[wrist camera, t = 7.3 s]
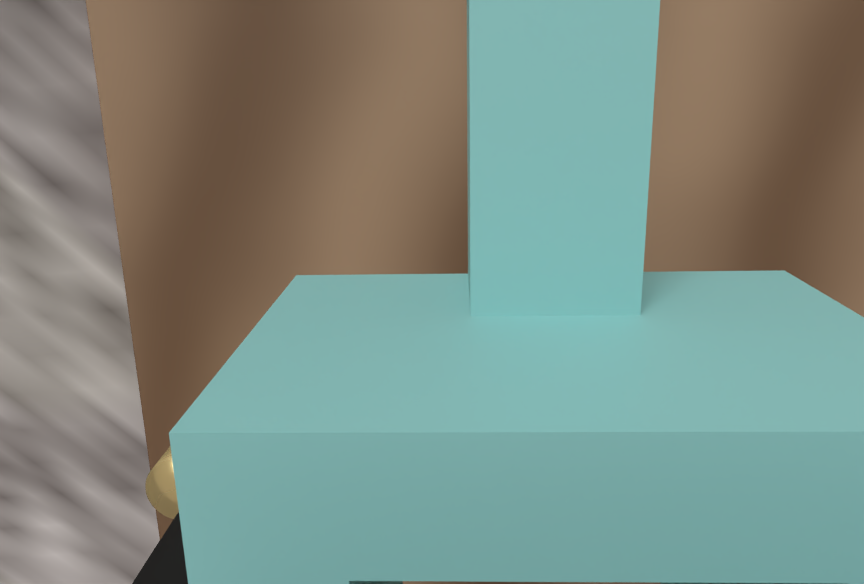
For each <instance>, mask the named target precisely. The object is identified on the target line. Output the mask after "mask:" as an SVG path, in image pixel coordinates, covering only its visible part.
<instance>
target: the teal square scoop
mask: <svg viewBox="0 0 864 584" xmlns="http://www.w3.org/2000/svg"><path fill="white" fill-rule="evenodd" d="M659 12H660V0H467V162H468V274H367V275H296V276H295V277H294V279H293V280H292V281H291V282H290V284H289V285H288V286H287V287H286V289H285V290H284V291H283V292H282V294H281V295H280V296H279V297H278V299H277V300H276V301H275V302H274V303H273V305H272V306H271V307H270V308H269V310H268V311H267V312H266V313H265V315H264V316H263V317H262V318H261V320H260V321H259V322H258V323H257V324H256V326H255V327H254V328H253V329H252V331H251V332H250V333H249V334H248V336H247V337H246V338H245V339H244V341H243V342H242V343H241V344H240V345H239V347H238V348H237V349H236V350H235V352H234V353H233V354H232V355H231V357H230V358H229V359H228V360H227V362H226V363H225V364H224V365H223V367H222V368H221V369H220V370H219V371H218V373H217V374H216V375H215V376H214V378H213V379H212V380H211V381H210V383H209V384H208V385H207V386H206V388H205V389H204V390H203V391H202V392H201V394H200V395H199V396H198V397H197V399H196V400H195V401H194V402H193V404H192V405H191V406H190V407H189V409H188V410H187V411H186V412H185V414H184V415H183V416H182V417H181V418H180V420H179V421H178V422H177V423H176V425H175V426H174V427H173V428H172V430H171V431H170V432H169V438H170V446H171V454H172V462H173V470H174V477H175V485H176V493H177V501H178V509H179V516H180V524H181V532H182V540H183V548H184V555H185V563H186V571H187V579H188V584H403V581H464V582H658V583H660V584H864V317H862V316H861V315H859V314H857V313H856V312H854V311H852V310H851V309H849V308H847V307H845V306H844V305H842V304H840V303H839V302H837V301H835V300H834V299H832V298H830V297H829V296H827V295H825V294H823V293H822V292H820V291H818V290H817V289H815V288H813V287H812V286H810V285H808V284H807V283H805V282H803V281H801V280H800V279H798V278H796V277H795V276H793V275H791V274H790V273H788V272H786V271H785V270H781V271H678V272H643V268H644V252H645V236H646V220H647V204H648V188H649V172H650V156H651V140H652V124H653V108H654V92H655V76H656V60H657V44H658V28H659Z"/></svg>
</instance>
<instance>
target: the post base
mask: <svg viewBox="0 0 864 584" xmlns="http://www.w3.org/2000/svg"><path fill="white" fill-rule="evenodd" d="M86 6H87V13H88V21H89V28H90V35H91V42H92V50H93V57H94V64H95V71H96V79H97V86H98V93H99V100H100V108H101V115H102V122H103V129H104V137H105V144H106V151H107V159H108V166H109V173H110V180H111V188H112V195H113V202H114V209H115V217H116V224H117V231H118V238H119V246H120V253H121V260H122V267H123V275H124V282H125V289H126V296H127V304H128V311H129V318H130V325H131V333H132V340H133V347H134V355H135V362H136V369H137V376H138V384H139V391H140V398H141V405H142V413H143V420H144V427H145V434H146V442H147V449H148V456H149V463H150V471H151V470H152V469H153V467H154V466H155V465H156V463H157V462H158V461H159V460H160V458H161V457H162V456H163V454H164V453H165V452H166V451H167V449H168V448H169V447H170V438H169V432H170V431H171V430H172V428H173V427H174V426H175V425H176V423H177V422H178V421H179V420H180V418H181V417H182V416H183V415H184V414H185V412H186V411H187V410H188V409H189V407H190V406H191V405H192V404H193V402H194V401H195V400H196V399H197V397H198V396H199V395H200V394H201V392H202V391H203V390H204V389H205V388H206V386H207V385H208V384H209V383H210V381H211V380H212V379H213V378H214V376H215V375H216V374H217V373H218V371H219V370H220V369H221V368H222V367H223V365H224V364H225V363H226V362H227V360H228V359H229V358H230V357H231V355H232V354H233V353H234V352H235V350H236V349H237V348H238V347H239V345H240V344H241V343H242V342H243V341H244V339H245V338H246V337H247V336H248V334H249V333H250V332H251V331H252V329H253V328H254V327H255V326H256V324H257V323H258V322H259V321H260V320H261V318H262V317H263V316H264V315H265V313H266V312H267V311H268V310H269V308H270V307H271V306H272V305H273V303H274V302H275V301H276V300H277V299H278V297H279V296H280V295H281V294H282V292H283V291H284V290H285V289H286V287H287V286H288V285H289V284H290V282H291V281H292V280H293V279H294V277H295V276H296V275H367V274H468V162H467V0H86ZM781 270H785V271H786V272H788V273H790V274H791V275H793V276H795V277H796V278H798V279H800V280H801V281H803V282H805V283H807V284H808V285H810V286H812V287H813V288H815V289H817V290H818V291H820V292H822V293H823V294H825V295H827V296H829V297H830V298H832V299H834V300H835V301H837V302H839V303H840V304H842V305H844V306H845V307H847V308H849V309H851V310H852V311H854V312H856V313H857V314H859V315H861V316H862V317H864V0H660V12H659V28H658V44H657V60H656V76H655V92H654V108H653V124H652V140H651V156H650V172H649V188H648V204H647V220H646V236H645V252H644V268H643V272H678V271H781ZM156 514H157V521H158V529H159V536H160V540H161V538H162V536H163V535H164V533H165V532H166V530H167V529H168V527H169V526H170V524H171V522H172V521H173V519H171V518H169V517H166V516H164V515H163V514H161V513H160V512H158V511H157V510H156ZM403 584H660V583H658V582H464V581H403Z"/></svg>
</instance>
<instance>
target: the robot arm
mask: <svg viewBox="0 0 864 584" xmlns="http://www.w3.org/2000/svg"><path fill="white" fill-rule="evenodd" d="M132 584H188V579H187V571H186V563H185V555H184V548H183V540H182V532H181V524H180V516H179V512H178V514H177V515H176V516H175V518H174V519H173V521H172V522H171V524H170V526H169V527H168V529H167V530H166V532H165V533H164V535H163V536H162V538H161V540H160V541H159V543H158V544H157V546H156V547H155V549H154V551H153V552H152V554H151V555H150V557H149V558H148V560H147V561H146V563H145V565H144V566H143V568H142V569H141V571H140V572H139V574H138V576H137V577H136V579H135V580H134V582H133V583H132Z"/></svg>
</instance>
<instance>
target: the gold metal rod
mask: <svg viewBox="0 0 864 584" xmlns="http://www.w3.org/2000/svg"><path fill="white" fill-rule="evenodd" d="M146 494H147V497H148V499H149V501H150V503H151V504H152V506H153V507H154V508H155V509H156V510H157V511H158V512H160V513H161V514H163V515H164V516H166V517H169V518H171V519H174V518H175V516H176V515H177V514H178V512H179V509H178V501H177V493H176V485H175V477H174V470H173V462H172V454H171V446H170V447H169V448H168V449H167V451H166V452H165V453H164V454H163V456H162V457H161V458H160V460H159V461H158V462H157V463H156V465H155V466H154V467H153V469H152V470H151V471H150V473H149V474H148V477H147V479H146Z"/></svg>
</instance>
